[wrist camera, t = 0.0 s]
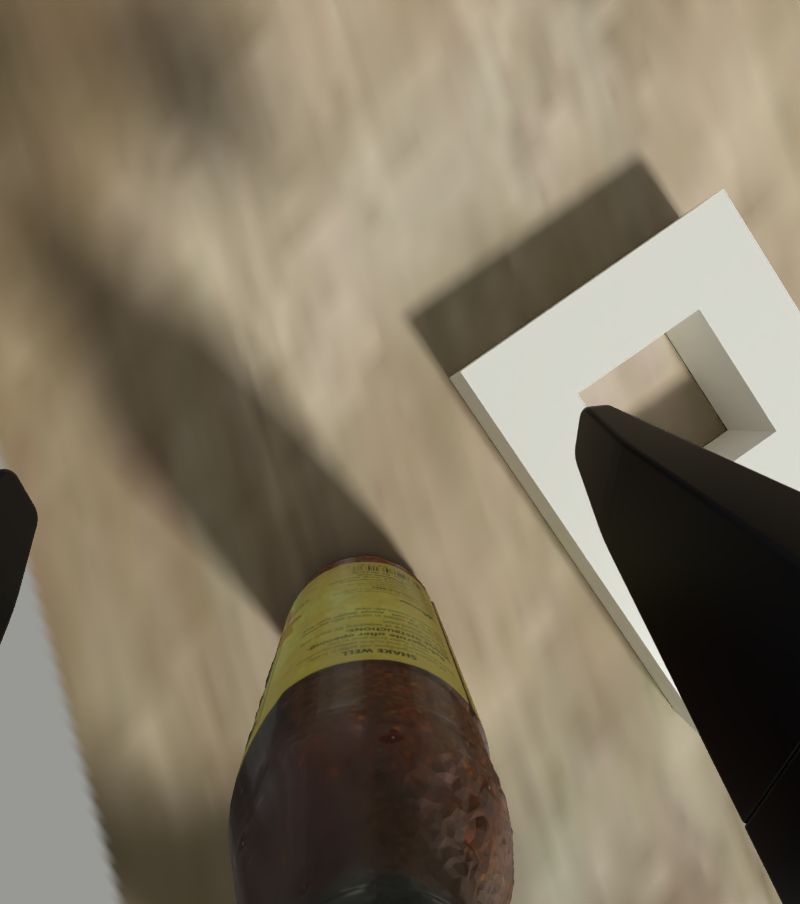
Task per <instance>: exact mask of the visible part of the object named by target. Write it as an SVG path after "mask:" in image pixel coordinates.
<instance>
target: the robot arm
mask: <svg viewBox="0 0 800 904" xmlns="http://www.w3.org/2000/svg"><path fill="white" fill-rule="evenodd" d="M575 459H576V464H577V467H578V469H579V472H580V475H581V478H582V481H583V484H584V487H585V490H586V492H587V495H588V498H589V501H590V504H591V507H592V510H593V513H594V515H595V518H596V521H597V524H598V527H599V529H600V532H601V535H602V537H603V540H604V542H605V544H606V546H607V548H608V551H609V553H610V555H611V557H612V559H613V561H614V563H615V565H616V567H617V569H618V571H619V573H620V575H621V577H622V579H623V581H624V583H625V585H626V587H627V589H628V591H629V593H630V595H631V597H632V599H633V601H634V603H635V605H636V607H637V609H638V611H639V613H640V615H641V617H642V619H643V621H644V623H645V625H646V627H647V629H648V631H649V634H650V636H651V638H652V640H653V642H654V644H655V646H656V648H657V650H658V652H659V654H660V656H661V658H662V660H663V662H664V664H665V666H666V668H667V670H668V672H669V674H670V676H671V678H672V680H673V682H674V684H675V686H676V688H677V690H678V692H679V694H680V696H681V698H682V700H683V702H684V704H685V706H686V708H687V710H688V712H689V714H690V716H691V719H692V721H693V723H694V725H695V727H696V729H697V731H698V733H699V735H700V737H701V739H702V741H703V743H704V745H705V747H706V749H707V751H708V753H709V755H710V757H711V759H712V761H713V763H714V765H715V767H716V769H717V771H718V773H719V775H720V777H721V779H722V781H723V783H724V785H725V787H726V789H727V791H728V793H729V795H730V797H731V799H732V801H733V804H734V806H735V808H736V810H737V812H738V814H739V816H740V818H741V820H742V821H743V822H744V823H746V825H745V829H746V831H747V833H748V835H749V837H750V839H751V841H752V843H753V845H754V847H755V849H756V851H757V853H758V855H759V857H760V859H761V861H762V863H763V865H764V867H765V869H766V871H767V873H768V875H769V877H770V879H771V881H772V883H773V885H774V887H775V889H776V891H777V893H778V895H779V897H780V899H781V902H782V904H800V491H798V490H795V489H793V488H791V487H789V486H787V485H784V484H782V483H780V482H778V481H776V480H773V479H771V478H769V477H767V476H764V475H762V474H760V473H758V472H756V471H753V470H751V469H749V468H747V467H745V466H742V465H740V464H738V463H736V462H734V461H731V460H729V459H727V458H725V457H723V456H720V455H718V454H716V453H714V452H711V451H709V450H707V449H705V448H703V447H700V446H698V445H696V444H694V443H692V442H689V441H687V440H685V439H683V438H681V437H678V436H676V435H674V434H672V433H669V432H667V431H665V430H663V429H661V428H658V427H656V426H654V425H652V424H650V423H647V422H645V421H643V420H641V419H639V418H636V417H634V416H632V415H630V414H628V413H625V412H623V411H621V410H619V409H617V408H614V407H612V406H610V405H600V406H591V407H585V408H584V409H583V410H582V412H581V414H580V418H579V424H578V431H577V438H576V445H575ZM37 521H38V516H37V511H36V508H35V506H34V504H33V503H32V501H31V499H30V498H29V496H28V494H27V492H26V491H25V489H24V487H23V485H22V484H21V482H20V480H19V479H18V477H17V476H16V474H15V473H14V472H12V471H11V470H8V469H0V643H1V641H2V639H3V636H4V634H5V631H6V628H7V626H8V623H9V621H10V618H11V615H12V613H13V610H14V607H15V603H16V600H17V597H18V594H19V590H20V586H21V583H22V579H23V575H24V571H25V568H26V564H27V560H28V557H29V553H30V549H31V545H32V542H33V538H34V534H35V531H36V527H37Z"/></svg>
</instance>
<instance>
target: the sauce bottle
mask: <svg viewBox="0 0 800 904" xmlns="http://www.w3.org/2000/svg"><path fill="white" fill-rule="evenodd" d="M229 846H230V854H231V862H232V869H233V876H234V883H235V890H236V898H237V904H510V901H511V897H512V890H513V885H514V866H513V865H514V861H513V831H512V828H511V823H510V817H509V812H508V808H507V802H506V797H505V795H504V793H503V791H502V789H501V785H500V780H499V777H498V776H497V774H496V772H495V770H494V768H493V765H492V763H491V761H490V753H489V748H488V743H487V738H486V735H485V731H484V728H483V726H482V723H481V721H480V718H479V716H478V713H477V710H476V708H475V705H474V703H473V700H472V698H471V695H470V693H469V690H468V688H467V685H466V683H465V680H464V677H463V675H462V672H461V670H460V667H459V665H458V662H457V660H456V657H455V655H454V652H453V650H452V647H451V645H450V642H449V640H448V637H447V635H446V632H445V630H444V627H443V625H442V622H441V620H440V617H439V615H438V612H437V609H436V607H435V604H434V603H433V602H432V601H431V600H430V597H429V595H428V593H427V591H426V589H425V587H424V586H423V585H422V583H421V582H420V581H419V580H418V579H417V578H416V577H415V576H414V575H413V574H412V573H411V572H409V571H408V570H406V569H405V568H403V567H402V566H401V565H398V564H395V563H393V562H390V561H388V560H386V559H383V558H380V557H377V556H371V555H364V556H354V557H351V558H346V559H342V560H339V561H336V562H334V563H332V564H330V565H328V566H326V567H324V568H322V569H321V570H320V571H319V572H317V573H316V574H315V575H314V576H313V577H312V578H311V579H310V580H309V582H308V584H307V585H306V587H305V588H304V589H303V590H302V591H301V593H300V594H299V595H298V597H297V598H296V600H295V602H294V604H293V605H292V607H291V609H290V612H289V614H288V616H287V619H286V622H285V625H284V630H283V633H282V636H281V639H280V642H279V645H278V649H277V652H276V655H275V658H274V661H273V663H272V666H271V668H270V671H269V675H268V677H267V680H266V686H265V690H264V693H263V696H262V697H261V700H260V704H259V709H258V711H257V713H256V717H255V722H254V725H253V728H252V731H251V732H250V734H249V738H248V742H247V745H246V748H245V753H244V756H243V759H242V762H241V766H240V769H239V772H238V775H237V779H236V783H235V787H234V791H233V795H232V800H231V805H230V815H229Z"/></svg>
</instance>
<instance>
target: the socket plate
mask: <svg viewBox="0 0 800 904" xmlns="http://www.w3.org/2000/svg"><path fill="white" fill-rule="evenodd" d="M664 333H666V335H667V336H668V338H669V339H670V341H671V342H672V344H673V346H674V347H675V349H676V350H677V352H678V353H679V355H680V357H681V358H682V360H683V361H684V363H685V364H686V366H687V367H688V369H689V371H690V372H691V374H692V375H693V377H694V378H695V380H696V382H697V383H698V385H699V386H700V388H701V389H702V391H703V392H704V394H705V396H706V397H707V399H708V400H709V402H710V403H711V405H712V407H713V408H714V410H715V411H716V413H717V414H718V416H719V417H720V419H721V421H722V422H723V424H724V425H725V427H726V428H727V431H726V432H724V433H723V434H721V435H720V436H719V437H717V438H716V439H714V440H713V441H711V442H710V443H709V444H707V445H706V446H704V447H703V448H705V449H707V450H709V451H711V452H714V453H716V454H718V455H720V456H723V457H725V458H727V459H729V460H731V461H734V462H736V463H738V464H740V465H742V466H745V467H747V468H749V469H751V470H753V471H756V472H758V473H760V474H762V475H764V476H767V477H769V478H771V479H773V480H776V481H778V482H780V483H782V484H784V485H787V486H789V487H791V488H793V489H795V490H798V491H800V312H799V310H798V308H797V307H796V305H795V304H794V302H793V300H792V299H791V297H790V296H789V294H788V292H787V291H786V289H785V287H784V286H783V284H782V283H781V281H780V279H779V278H778V276H777V274H776V273H775V271H774V270H773V268H772V266H771V265H770V263H769V262H768V260H767V258H766V257H765V255H764V253H763V252H762V250H761V249H760V247H759V245H758V244H757V242H756V240H755V239H754V237H753V236H752V234H751V232H750V231H749V229H748V228H747V226H746V224H745V223H744V221H743V219H742V218H741V216H740V215H739V213H738V211H737V210H736V208H735V206H734V205H733V203H732V202H731V200H730V198H729V197H728V195H727V194H726V192H725V190H724V189H722V190H721V191H719V192H718V193H716V194H715V195H713V196H712V197H710V198H709V199H707V200H706V201H704V202H702V203H701V204H699V205H698V206H696V207H695V208H693V209H692V210H690V211H689V212H687V213H686V214H684V215H683V216H681V217H680V218H678V219H677V220H675V221H674V222H673V223H671V224H670V225H668V226H667V227H665V228H664V229H662V230H661V231H660V232H658V233H657V234H655V235H654V236H652V237H651V238H649V239H648V240H647V241H645V242H644V243H642V244H641V245H639V246H638V247H637V248H635V249H634V250H632V251H631V252H629V253H628V254H626V255H625V256H624V257H622V258H621V259H619V260H618V261H616V262H615V263H614V264H612V265H611V266H609V267H608V268H606V269H605V270H603V271H602V272H601V273H599V274H598V275H596V276H595V277H593V278H592V279H590V280H589V281H588V282H586V283H585V284H583V285H582V286H580V287H579V288H578V289H576V290H575V291H573V292H572V293H570V294H569V295H567V296H566V297H565V298H563V299H562V300H560V301H559V302H557V303H556V304H554V305H553V306H552V307H550V308H549V309H547V310H546V311H544V312H543V313H542V314H540V315H539V316H537V317H536V318H534V319H533V320H531V321H530V322H529V323H527V324H526V325H524V326H523V327H521V328H520V329H519V330H517V331H516V332H514V333H513V334H511V335H510V336H508V337H507V338H506V339H504V340H503V341H501V342H500V343H498V344H497V345H495V346H494V347H493V348H491V349H490V350H488V351H487V352H485V353H484V354H483V355H481V356H480V357H478V358H477V359H475V360H474V361H472V362H471V363H470V364H468V365H467V366H465V367H464V368H462V369H461V370H459V371H458V372H457V373H455V374H454V375H452V376H451V377H449V379H450V380H451V382H452V383H453V385H454V386H455V387H456V389H457V390H458V392H459V393H460V395H461V396H462V398H463V399H464V401H465V402H466V404H467V405H468V407H469V408H470V410H471V411H472V413H473V414H474V415H475V417H476V418H477V420H478V421H479V423H480V424H481V426H482V427H483V429H484V430H485V432H486V433H487V435H488V436H489V438H490V439H491V441H492V442H493V443H494V445H495V446H496V448H497V449H498V451H499V452H500V454H501V455H502V457H503V458H504V460H505V461H506V463H507V464H508V466H509V467H510V469H511V470H512V471H513V473H514V474H515V476H516V477H517V479H518V480H519V482H520V483H521V485H522V486H523V488H524V489H525V491H526V492H527V494H528V495H529V497H530V498H531V499H532V501H533V502H534V504H535V505H536V507H537V508H538V510H539V511H540V513H541V514H542V516H543V517H544V519H545V520H546V522H547V523H548V525H549V526H550V527H551V529H552V530H553V532H554V533H555V535H556V536H557V538H558V539H559V541H560V542H561V544H562V545H563V547H564V548H565V550H566V551H567V553H568V554H569V555H570V557H571V558H572V560H573V561H574V563H575V564H576V566H577V567H578V569H579V570H580V572H581V573H582V575H583V576H584V578H585V579H586V580H587V582H588V583H589V585H590V586H591V588H592V589H593V591H594V592H595V594H596V595H597V597H598V598H599V600H600V601H601V603H602V604H603V606H604V607H605V608H606V610H607V611H608V613H609V614H610V616H611V617H612V619H613V620H614V622H615V623H616V625H617V626H618V628H619V629H620V631H621V632H622V634H623V635H624V636H625V638H626V639H627V641H628V642H629V644H630V645H631V647H632V648H633V650H634V651H635V653H636V654H637V656H638V657H639V659H640V660H641V662H642V663H643V664H644V666H645V667H646V669H647V670H648V672H649V673H650V675H651V676H652V678H653V679H654V681H655V682H656V684H657V685H658V687H659V688H660V690H661V691H662V692H663V694H664V695H665V697H666V698H667V700H668V701H669V703H670V704H671V706H672V707H673V709H674V710H675V712H676V713H677V714H678V715H679V716H680V717H681V718H683V719H684V720H685V721H686V722H687V723H688V724H689V725H690V726H691V727H692V728H693V729H694V730H695V731H696V732H697V733H698V731H697V729H696V727H695V725H694V723H693V721H692V719H691V716H690V714H689V712H688V710H687V708H686V706H685V704H684V702H683V700H682V698H681V696H680V694H679V692H678V690H677V688H676V686H675V684H674V682H673V680H672V678H671V676H670V674H669V672H668V670H667V668H666V666H665V664H664V662H663V660H662V658H661V656H660V654H659V652H658V650H657V648H656V646H655V644H654V642H653V640H652V638H651V636H650V634H649V631H648V629H647V627H646V625H645V623H644V621H643V619H642V617H641V615H640V613H639V611H638V609H637V607H636V605H635V603H634V601H633V599H632V597H631V595H630V593H629V591H628V589H627V587H626V585H625V583H624V581H623V579H622V577H621V575H620V573H619V571H618V569H617V567H616V565H615V563H614V561H613V559H612V557H611V555H610V553H609V551H608V548H607V546H606V544H605V542H604V540H603V537H602V535H601V532H600V529H599V527H598V524H597V521H596V518H595V515H594V513H593V510H592V507H591V504H590V501H589V498H588V495H587V492H586V490H585V487H584V484H583V481H582V478H581V475H580V472H579V469H578V467H577V464H576V459H575V445H576V438H577V431H578V424H579V418H580V414H581V412H582V410H583V409H584V408H585V407H586V405H585V404H584V402H583V401H582V399H581V398H580V396H579V395H578V393H580V392H581V391H583V390H584V389H585V388H587V387H588V386H590V385H591V384H593V383H594V382H595V381H597V380H598V379H600V378H601V377H603V376H604V375H606V374H607V373H608V372H610V371H611V370H613V369H614V368H616V367H617V366H618V365H620V364H621V363H623V362H624V361H626V360H627V359H628V358H630V357H631V356H633V355H634V354H636V353H637V352H638V351H640V350H641V349H643V348H644V347H646V346H647V345H649V344H650V343H651V342H653V341H654V340H656V339H657V338H659V337H660V336H661V335H663V334H664ZM698 734H699V733H698Z"/></svg>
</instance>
